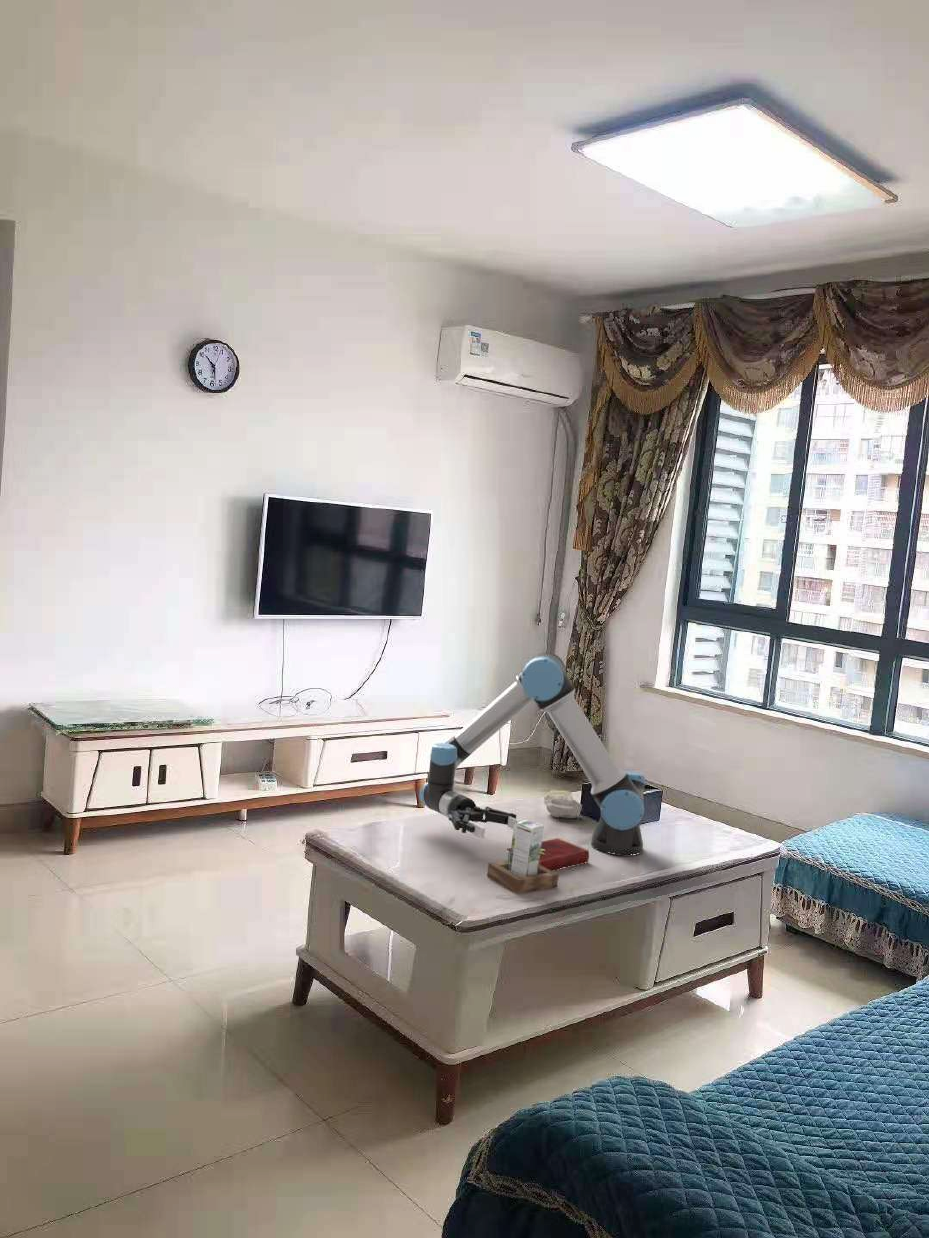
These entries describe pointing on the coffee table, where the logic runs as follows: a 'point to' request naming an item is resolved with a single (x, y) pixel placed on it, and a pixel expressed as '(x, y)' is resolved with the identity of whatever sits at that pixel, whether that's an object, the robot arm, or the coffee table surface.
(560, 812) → the fossil replica
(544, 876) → the walnut holder
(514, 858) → the syrup box
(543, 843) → the hardcover book
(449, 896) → the coffee table surface
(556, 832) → the coffee table surface
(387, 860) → the coffee table surface
